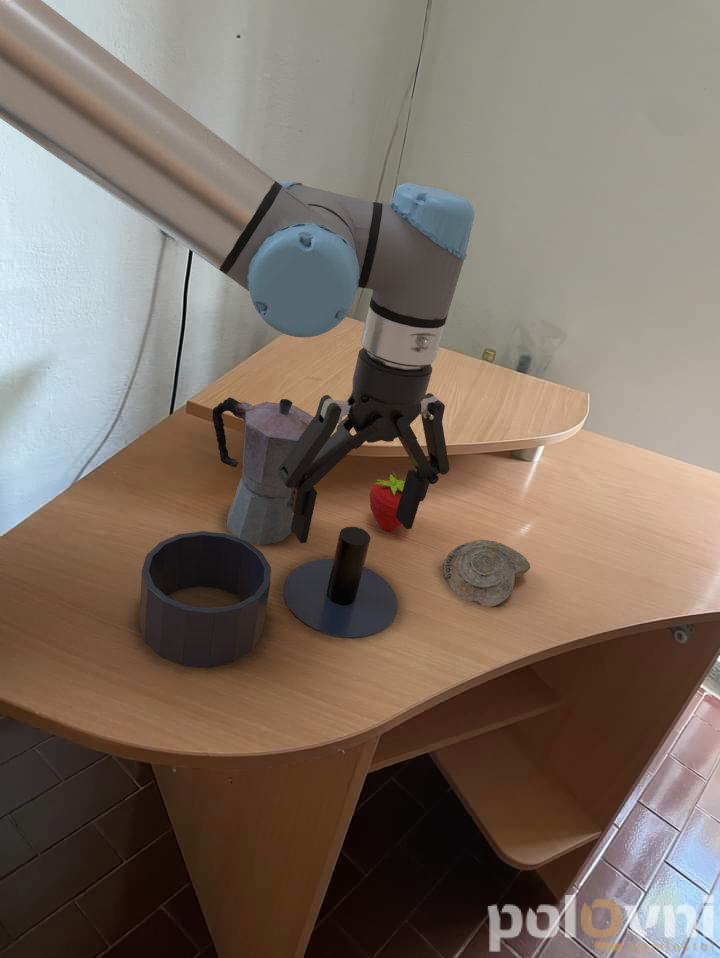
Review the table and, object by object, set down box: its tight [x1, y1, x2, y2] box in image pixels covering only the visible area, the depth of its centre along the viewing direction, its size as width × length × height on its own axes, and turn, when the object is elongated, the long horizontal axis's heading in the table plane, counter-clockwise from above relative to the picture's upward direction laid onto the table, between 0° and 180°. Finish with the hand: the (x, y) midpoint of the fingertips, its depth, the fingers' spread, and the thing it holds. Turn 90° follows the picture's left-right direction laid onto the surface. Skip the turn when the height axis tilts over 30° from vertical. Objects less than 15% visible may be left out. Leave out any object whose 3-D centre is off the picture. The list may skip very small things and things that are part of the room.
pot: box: [138, 530, 272, 669], centre depth 75 cm, size 13×13×8 cm
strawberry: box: [369, 471, 405, 532], centre depth 97 cm, size 6×8×10 cm
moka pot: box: [211, 397, 315, 546], centre depth 89 cm, size 10×15×20 cm, turn 81°
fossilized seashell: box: [442, 539, 531, 608], centre depth 92 cm, size 11×11×7 cm
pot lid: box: [282, 526, 399, 639], centre depth 82 cm, size 14×14×10 cm
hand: (353, 528), depth 79 cm, fingers open, 13 cm apart
